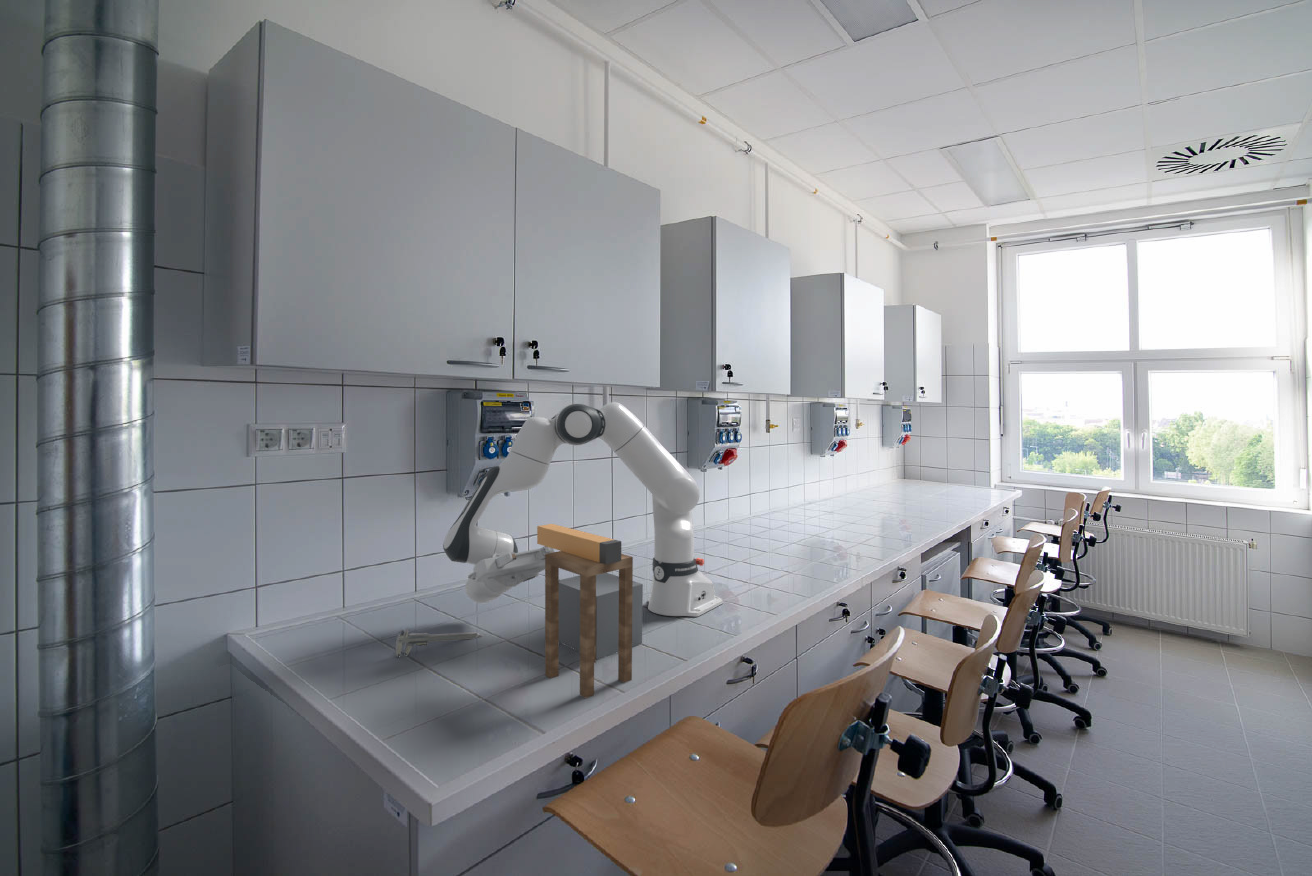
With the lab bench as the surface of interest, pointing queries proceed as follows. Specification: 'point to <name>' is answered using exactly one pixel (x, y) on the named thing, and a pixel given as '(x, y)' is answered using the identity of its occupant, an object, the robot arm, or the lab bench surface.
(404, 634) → the caliper
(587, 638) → the wooden bar stool
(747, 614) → the lab bench surface
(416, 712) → the lab bench surface
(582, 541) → the capped wooden beam
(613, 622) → the crate
